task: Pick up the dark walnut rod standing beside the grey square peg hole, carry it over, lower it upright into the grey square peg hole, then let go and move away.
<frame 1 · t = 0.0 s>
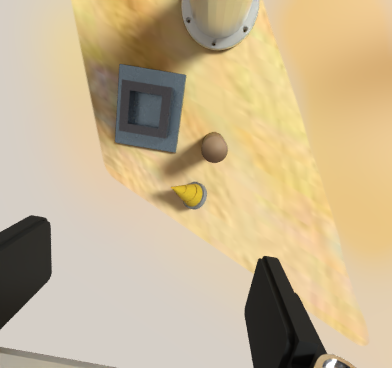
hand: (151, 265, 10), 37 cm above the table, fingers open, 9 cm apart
yellow grooved cone part: (190, 190, 48), on the table
walnut rod: (213, 142, 45), on the table
grey square peg hole: (149, 110, 44), on the table
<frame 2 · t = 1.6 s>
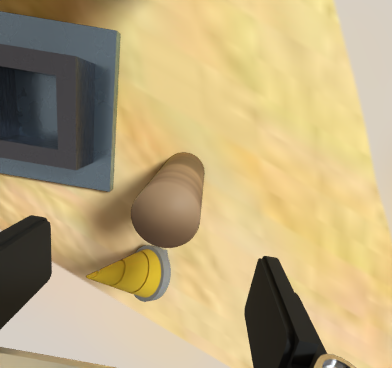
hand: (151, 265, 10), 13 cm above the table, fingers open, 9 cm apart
yellow grooved cone part: (145, 255, 26), on the table
walnut rod: (184, 172, 23), on the table
grey square peg hole: (53, 108, 22), on the table
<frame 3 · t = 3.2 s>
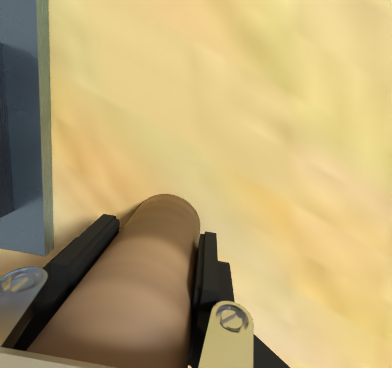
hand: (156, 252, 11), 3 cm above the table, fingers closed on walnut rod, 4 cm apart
walnut rod: (166, 225, 14), on the table, touching gripper
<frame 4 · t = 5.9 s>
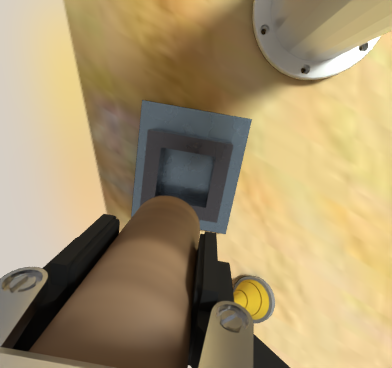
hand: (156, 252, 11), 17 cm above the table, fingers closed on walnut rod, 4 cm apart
yellow grooved cone part: (242, 283, 32), on the table
walnut rod: (166, 226, 14), point 14 cm above the table, touching gripper
grey square peg hole: (187, 170, 28), on the table
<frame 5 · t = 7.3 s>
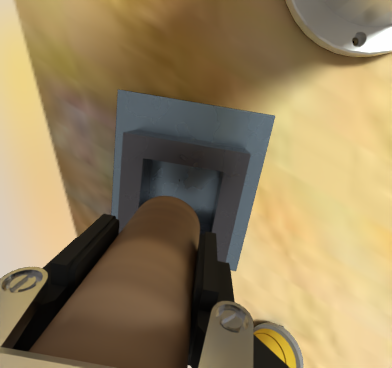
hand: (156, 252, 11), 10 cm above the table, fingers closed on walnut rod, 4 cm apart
yellow grooved cone part: (257, 329, 25), on the table
walnut rod: (166, 227, 14), point 7 cm above the table, touching gripper
grey square peg hole: (184, 186, 20), on the table
when the fingers open (5 cm above the table, at t = 8.5 s): walnut rod drops 1 cm, resting on grey square peg hole.
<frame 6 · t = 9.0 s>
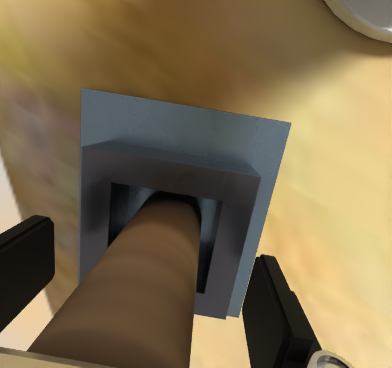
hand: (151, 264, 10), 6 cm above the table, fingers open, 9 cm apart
walnut rod: (170, 218, 15), point 1 cm above the table, touching grey square peg hole
grey square peg hole: (172, 212, 16), on the table
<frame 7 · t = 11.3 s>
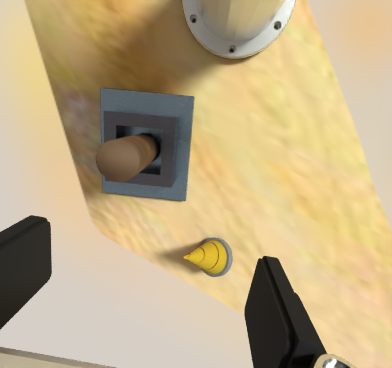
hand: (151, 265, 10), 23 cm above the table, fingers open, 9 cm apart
yellow grooved cone part: (207, 246, 36), on the table
walnut rod: (145, 148, 31), point 1 cm above the table, touching grey square peg hole
grey square peg hole: (146, 146, 32), on the table
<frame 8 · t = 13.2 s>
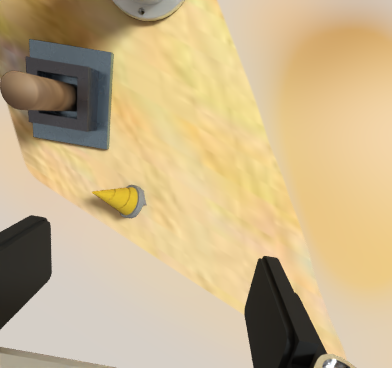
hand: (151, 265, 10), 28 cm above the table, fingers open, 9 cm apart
yellow grooved cone part: (129, 195, 40), on the table
walnut rod: (70, 97, 35), point 1 cm above the table, touching grey square peg hole
grey square peg hole: (73, 97, 36), on the table
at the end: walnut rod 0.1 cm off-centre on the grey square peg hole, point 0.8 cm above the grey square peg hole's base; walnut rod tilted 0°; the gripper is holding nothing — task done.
